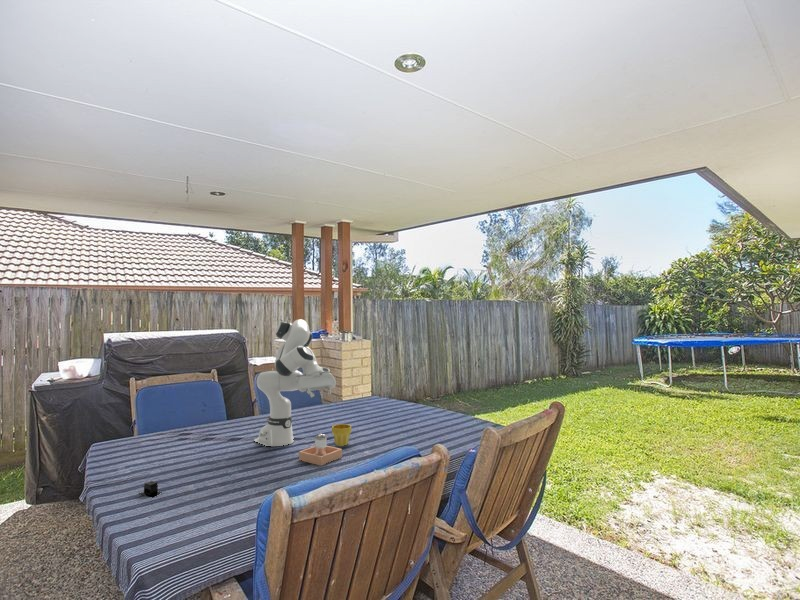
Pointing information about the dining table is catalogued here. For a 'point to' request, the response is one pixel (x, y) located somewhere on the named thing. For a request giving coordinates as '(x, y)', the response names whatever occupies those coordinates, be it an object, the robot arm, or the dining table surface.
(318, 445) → the silver metal cylinder
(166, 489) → the dining table surface
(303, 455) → the terracotta bin
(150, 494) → the black block
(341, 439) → the plant pot
